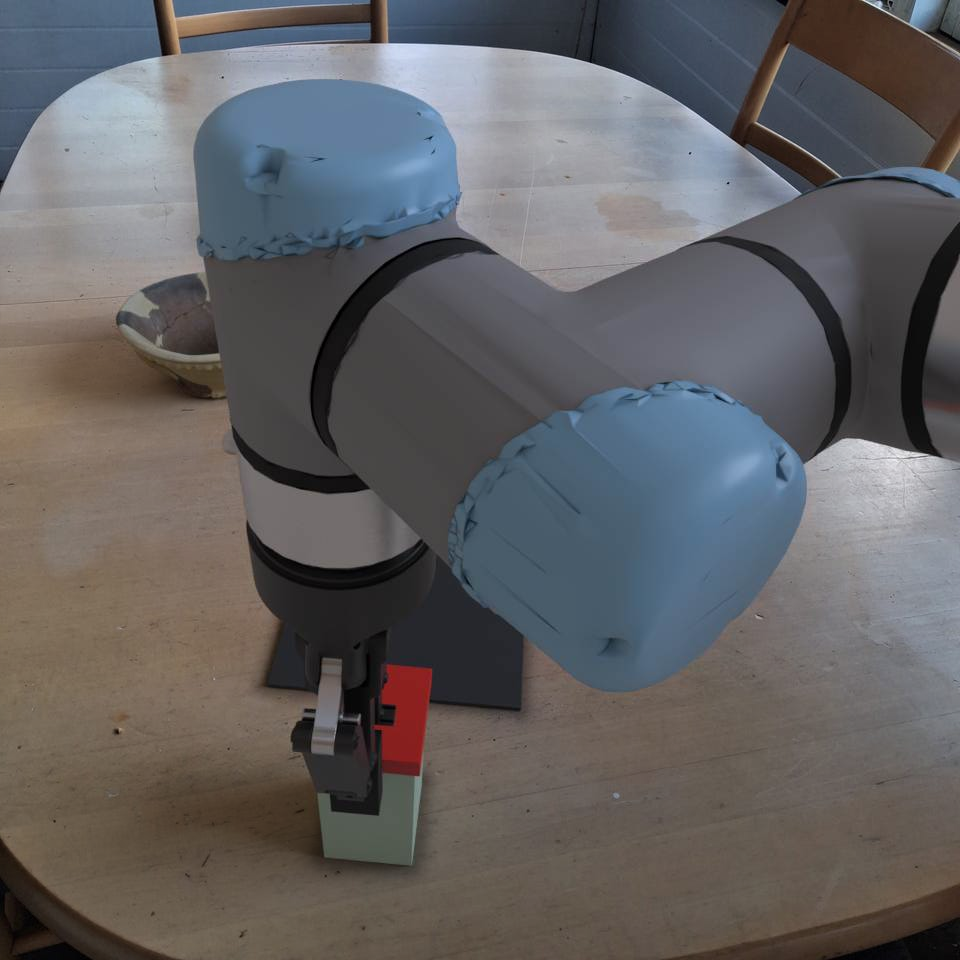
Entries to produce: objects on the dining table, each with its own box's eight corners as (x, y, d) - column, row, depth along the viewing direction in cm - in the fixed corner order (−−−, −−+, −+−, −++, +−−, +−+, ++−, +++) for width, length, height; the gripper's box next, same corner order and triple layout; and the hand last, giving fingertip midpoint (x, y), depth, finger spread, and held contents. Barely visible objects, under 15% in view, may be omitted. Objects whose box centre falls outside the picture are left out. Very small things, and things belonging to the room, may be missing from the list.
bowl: (322, 350, 105) (317, 277, 98) (260, 447, 92) (250, 370, 85) (180, 323, 107) (167, 250, 100) (100, 414, 94) (78, 336, 87)
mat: (520, 710, 71) (521, 708, 71) (267, 686, 71) (267, 684, 71) (529, 459, 93) (530, 456, 93) (336, 441, 93) (336, 438, 93)
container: (415, 870, 61) (420, 763, 52) (318, 861, 61) (305, 752, 52) (426, 781, 66) (432, 668, 57) (336, 772, 66) (327, 658, 57)
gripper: (284, 396, 40) (314, 697, 56) (199, 631, 31) (264, 913, 47) (452, 412, 40) (434, 708, 56) (420, 651, 31) (409, 926, 47)
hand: (357, 801), depth 51 cm, fingers closed
